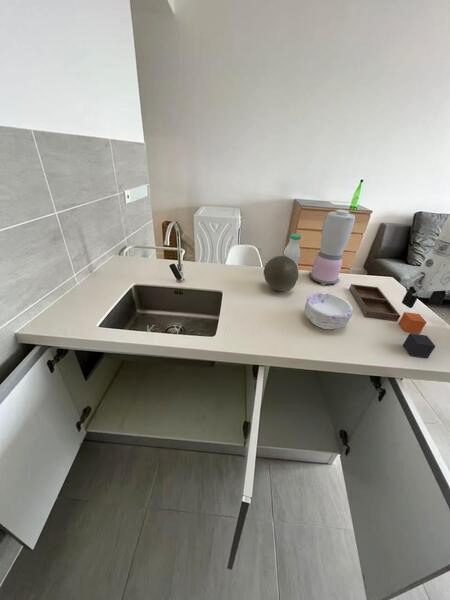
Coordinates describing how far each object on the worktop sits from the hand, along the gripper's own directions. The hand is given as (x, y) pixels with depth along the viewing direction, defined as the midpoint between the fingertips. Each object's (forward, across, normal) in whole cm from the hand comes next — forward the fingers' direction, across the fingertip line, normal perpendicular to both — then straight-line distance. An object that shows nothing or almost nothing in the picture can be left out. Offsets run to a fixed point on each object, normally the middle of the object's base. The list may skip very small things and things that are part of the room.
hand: (420, 304), depth 71 cm
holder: (+15, +8, +23) cm, 29 cm away
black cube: (+15, +2, -4) cm, 16 cm away
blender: (+15, -1, +47) cm, 50 cm away
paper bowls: (+15, -19, +14) cm, 28 cm away
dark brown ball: (+15, -26, +39) cm, 49 cm away
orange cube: (+15, +10, +6) cm, 19 cm away
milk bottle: (+15, -16, +53) cm, 57 cm away
